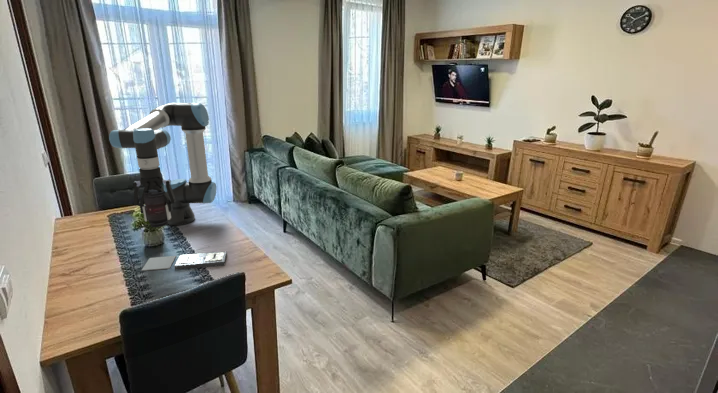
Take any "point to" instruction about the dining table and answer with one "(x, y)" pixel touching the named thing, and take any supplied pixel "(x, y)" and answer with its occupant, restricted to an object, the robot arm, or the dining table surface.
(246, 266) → the dining table surface
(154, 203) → the camera lens
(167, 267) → the rubber mat
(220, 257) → the psu chassis
